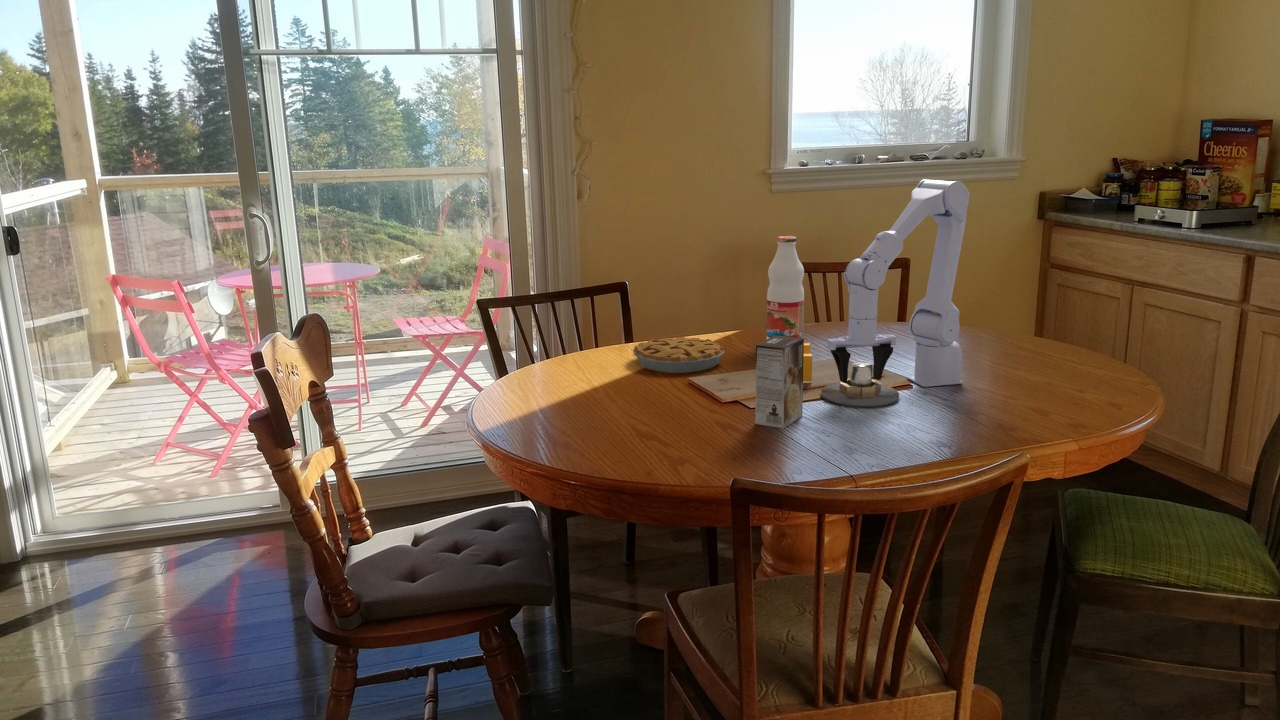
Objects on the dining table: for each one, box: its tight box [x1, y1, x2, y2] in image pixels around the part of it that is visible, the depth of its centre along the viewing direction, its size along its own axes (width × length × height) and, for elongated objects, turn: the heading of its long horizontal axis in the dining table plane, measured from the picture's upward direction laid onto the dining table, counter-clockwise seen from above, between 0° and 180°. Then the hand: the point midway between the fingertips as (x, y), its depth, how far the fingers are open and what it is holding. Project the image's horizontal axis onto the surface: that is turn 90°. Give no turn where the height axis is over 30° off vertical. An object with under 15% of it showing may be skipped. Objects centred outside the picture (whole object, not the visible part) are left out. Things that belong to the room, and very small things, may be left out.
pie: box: [633, 336, 725, 374], centre depth 233 cm, size 22×22×5 cm
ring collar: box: [820, 377, 900, 409], centre depth 202 cm, size 16×16×3 cm
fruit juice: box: [766, 235, 805, 340], centre depth 245 cm, size 9×9×28 cm
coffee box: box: [754, 336, 805, 429], centre depth 186 cm, size 9×6×16 cm
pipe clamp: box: [803, 342, 813, 381], centre depth 218 cm, size 12×4×6 cm, turn 173°
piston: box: [850, 361, 873, 387], centre depth 201 cm, size 4×4×6 cm
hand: (860, 380), depth 202 cm, fingers open, 7 cm apart
